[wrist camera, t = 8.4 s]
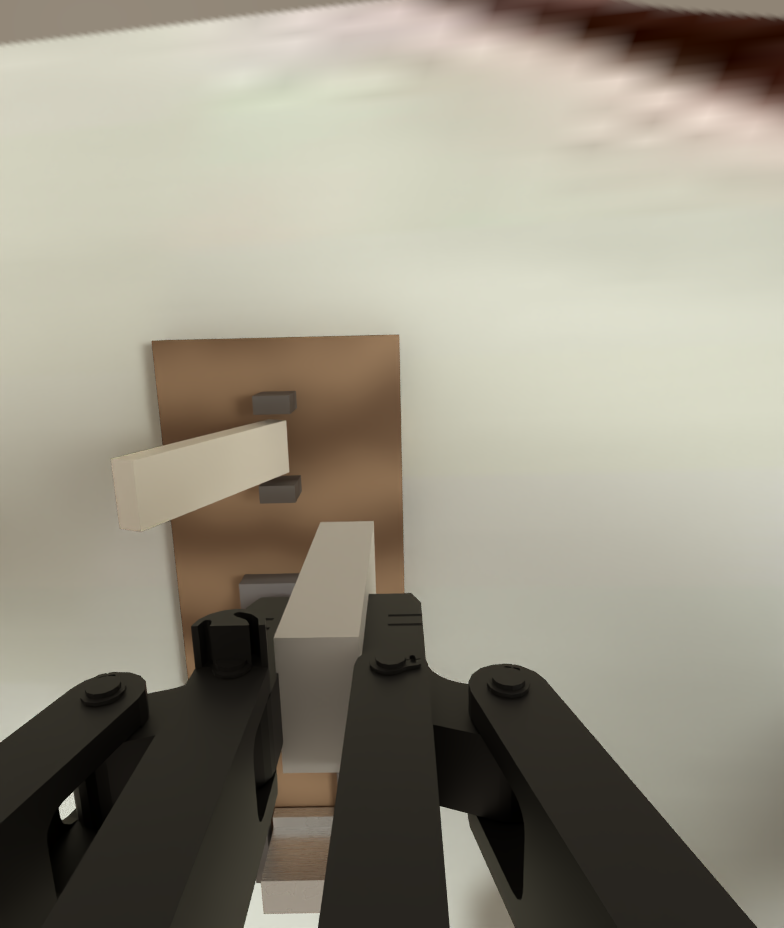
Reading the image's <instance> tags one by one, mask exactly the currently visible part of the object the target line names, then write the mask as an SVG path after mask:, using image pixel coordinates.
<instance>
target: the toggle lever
mask: <svg viewBox="0 0 784 928" xmlns="http://www.w3.org/2000/svg"><path fill="white" fill-rule="evenodd" d="M111 464H112V472H113V480H114V488H115V496H116V503H117V511H118V519H119V527H120V529H125V530H132V531H139V532H142V531H145V530H147V529H150V528H152V527H155V526H157V525H160V524H162V523H165V522H167V521H169V520H172V519H174V518H177V517H179V516H182V515H184V514H187V513H189V512H192V511H194V510H197V509H199V508H202V507H204V506H207V505H209V504H212V503H214V502H217V501H219V500H222V499H224V498H227V497H229V496H232V495H234V494H237V493H239V492H241V491H244V490H246V489H249V488H251V487H254V486H256V485H259V484H261V483H264V482H266V481H269V480H271V479H274V478H276V477H279V476H281V475H284V474H286V473H289V458H288V442H287V426H286V420H270V419H268V420H264V421H260V422H256V423H252V424H248V425H244V426H240V427H236V428H232V429H228V430H224V431H220V432H216V433H212V434H208V435H204V436H200V437H196V438H192V439H188V440H184V441H180V442H176V443H172V444H168V445H164V446H160V447H155V448H151V449H147V450H143V451H139V452H135V453H131V454H127V455H123V456H119V457H115V458H111Z"/></svg>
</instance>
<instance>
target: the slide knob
mask: <svg viewBox="0 0 784 928" xmlns="http://www.w3.org/2000/svg"><path fill="white" fill-rule="evenodd" d="M333 815H334V807H314V808H275V811H274V815H273V826H274V828H273V833H272V837H271V841H270V845H269V849H268V854H267V858H266V862H265V866H264V871H263V875H262V879H261V888H262V899H263V911H264V914H285V913H320V909H321V902H322V895H323V887H324V880H325V873H326V866H327V858H328V851H329V844H330V836H331V829H332V822H333Z"/></svg>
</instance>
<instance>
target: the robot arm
mask: <svg viewBox="0 0 784 928" xmlns="http://www.w3.org/2000/svg"><path fill="white" fill-rule="evenodd" d="M191 633H192V642H193V652H194V662H195V670H194V671H193V673H192V675H191V676H190V678H189V680H188V681H187V683H186V685H184V686H181V687H177V688H174V689H169V690H164V691H159V692H154V693H149V694H147V689H146V681H145V680H144V679H143V678H142V677H141V676H140V675H136V674H133V673H130V672H111V673H109V674H107V673H105V674H101V675H98V676H96V677H94V678H91V679H89V680H86V681H84V682H82V683H80V684H79V685H77V686H75V687H73V688H72V689H70V690H69V691H68V692H66V693H65V694H64V695H62V696H61V697H60V698H58V699H57V700H56V701H55V702H53V703H52V704H51V705H49V706H48V707H47V708H45V709H44V710H43V711H41V712H40V713H39V714H37V715H36V716H35V717H33V718H32V719H31V720H29V721H28V722H27V723H26V724H24V725H23V726H22V727H20V728H19V729H18V730H16V731H15V732H14V733H12V734H11V735H10V736H8V737H7V738H6V739H4V740H3V741H2V742H1V743H0V928H244V924H245V920H246V916H247V912H248V908H249V904H250V900H251V896H252V893H253V889H254V885H255V881H256V877H257V873H258V869H259V865H260V861H261V857H262V854H263V850H264V846H265V842H266V838H267V834H268V830H269V826H270V822H271V818H272V814H273V811H274V807H275V803H276V799H277V795H278V781H277V768H276V767H277V764H278V760H279V757H280V753H281V751H282V765H283V773H333V772H339V778H338V785H337V793H336V800H335V807H334V815H333V822H332V829H331V836H330V844H329V851H328V858H327V866H326V873H325V880H324V887H323V895H322V902H321V909H320V917H319V924H318V928H450V926H449V914H448V902H447V890H446V878H445V866H444V854H443V842H442V830H441V818H440V806H442V807H446V808H450V809H454V810H457V811H461V812H465V813H468V819H469V824H470V828H471V830H472V832H473V835H474V837H475V839H476V841H477V844H478V846H479V848H480V850H481V853H482V855H483V857H484V859H485V861H486V864H487V866H488V868H489V870H490V873H491V875H492V877H493V879H494V882H495V884H496V886H497V888H498V890H499V893H500V895H501V897H502V899H503V902H504V904H505V906H506V908H507V910H508V913H509V915H510V917H511V919H512V922H513V924H514V926H515V928H757V927H756V926H755V924H754V923H753V922H752V921H751V920H750V919H749V917H748V916H747V915H746V914H745V913H744V912H743V910H742V909H741V908H740V907H739V906H738V905H737V903H736V902H735V901H734V900H733V899H732V898H731V896H730V895H729V894H728V893H727V892H726V891H725V889H724V888H723V887H722V886H721V885H720V884H719V882H718V881H717V880H716V879H715V878H714V877H713V875H712V874H711V873H710V872H709V871H708V870H707V868H706V867H705V866H704V865H703V864H702V862H701V861H700V860H699V859H698V858H697V857H696V855H695V854H694V853H693V852H692V851H691V850H690V848H689V847H688V846H687V845H686V844H685V843H684V841H683V840H682V839H681V838H680V837H679V836H678V834H677V833H676V832H675V831H674V830H673V829H672V827H671V826H670V825H669V824H668V823H667V822H666V820H665V819H664V818H663V817H662V816H661V815H660V813H659V812H658V811H657V810H656V809H655V808H654V806H653V805H652V804H651V803H650V802H649V801H648V799H647V798H646V797H645V796H644V795H643V794H642V792H641V791H640V790H639V789H638V788H637V787H636V785H635V784H634V783H633V782H632V781H631V780H630V778H629V777H628V776H627V775H626V774H625V773H624V771H623V770H622V769H621V768H620V767H619V766H618V764H617V763H616V762H615V761H614V760H613V759H612V757H611V756H610V755H609V754H608V753H607V751H606V750H605V749H604V748H603V747H602V746H601V744H600V743H599V742H598V741H597V740H596V739H595V737H594V736H593V735H592V734H591V733H590V732H589V730H588V729H587V728H586V727H585V726H584V725H583V723H582V722H581V721H580V720H579V719H578V718H577V716H576V715H575V714H574V713H573V712H572V711H571V709H570V708H569V707H568V706H567V705H566V704H565V702H564V701H563V700H562V699H561V698H560V697H559V695H558V694H557V693H556V692H555V691H554V690H553V688H552V687H551V686H550V685H549V684H548V683H547V681H546V680H545V679H544V678H542V677H541V676H540V675H539V674H537V673H536V672H534V671H532V670H529V669H527V668H524V667H522V666H518V665H512V664H498V665H490V666H487V667H483V668H480V669H479V670H478V671H476V672H475V673H473V674H472V676H471V678H470V680H469V684H464V683H458V682H455V681H451V680H447V679H445V678H443V677H441V676H439V675H437V674H436V673H434V672H433V671H432V670H431V669H430V668H429V667H428V664H427V661H426V659H425V647H424V635H423V623H422V611H421V602H420V601H419V600H418V599H417V598H416V597H414V596H413V595H412V594H411V593H393V594H376V578H375V545H374V521H354V522H320V524H319V527H318V529H317V532H316V534H315V537H314V539H313V542H312V544H311V547H310V549H309V552H308V554H307V557H306V559H305V561H304V564H303V566H302V569H301V571H300V574H299V576H298V579H297V581H296V584H295V586H294V589H293V591H292V594H291V596H290V597H261V598H259V599H258V600H257V601H255V602H254V603H252V604H251V605H249V606H248V607H247V608H246V609H231V610H223V611H219V612H215V613H211V614H209V615H207V616H204V617H202V618H200V619H198V620H197V621H196V622H195V623H194V624H193V625H192V626H191ZM72 792H74V798H75V804H76V809H75V810H74V811H73V812H72V813H71V814H70V815H69V816H68V817H66V818H65V819H64V820H61V818H60V814H59V806H60V805H61V804H62V802H63V801H64V800H65V799H66V798H67V797H68V796H69V795H70V794H71V793H72Z"/></svg>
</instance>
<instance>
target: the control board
mask: <svg viewBox="0 0 784 928" xmlns="http://www.w3.org/2000/svg"><path fill="white" fill-rule="evenodd" d="M152 350H153V359H154V368H155V377H156V387H157V396H158V405H159V414H160V424H161V433H162V442H163V446H164V445H168V444H172V443H176V442H180V441H184V440H188V439H192V438H196V437H200V436H204V435H208V434H212V433H216V432H220V431H224V430H228V429H232V428H236V427H240V426H244V425H248V424H252V423H256V422H260V421H264V420H268V419H270V420H286V426H287V442H288V458H289V473H286V474H284V475H281V476H279V477H276V478H274V479H271V480H269V481H266V482H264V483H261V484H259V485H256V486H254V487H251V488H249V489H246V490H244V491H241V492H239V493H237V494H234V495H232V496H229V497H227V498H224V499H222V500H219V501H217V502H214V503H212V504H209V505H207V506H204V507H202V508H199V509H197V510H194V511H192V512H189V513H187V514H184V515H182V516H179V517H177V518H174V519H172V520H171V526H172V535H173V544H174V553H175V563H176V572H177V581H178V590H179V600H180V609H181V618H182V627H183V637H184V646H185V655H186V664H187V674H188V680H189V678H190V676H191V675H192V673H193V671H194V670H195V662H194V652H193V642H192V633H191V626H192V625H193V624H194V623H195V622H196V621H197V620H198V619H200V618H202V617H204V616H207V615H209V614H211V613H215V612H219V611H223V610H231V609H246V608H247V607H248V606H249V605H251V604H252V603H254V602H255V601H257V600H258V599H259V598H261V597H290V596H291V594H292V591H293V589H294V586H295V584H296V581H297V579H298V576H299V574H300V571H301V569H302V566H303V564H304V561H305V559H306V557H307V554H308V552H309V549H310V547H311V544H312V542H313V539H314V537H315V534H316V532H317V529H318V527H319V524H320V522H354V521H374V545H375V578H376V594H393V593H404V553H403V502H402V452H401V402H400V352H399V335H366V336H324V337H281V338H239V339H196V340H160V341H152ZM276 768H277V781H278V795H277V799H276V803H275V807H274V811H275V808H314V807H335V800H336V793H337V785H338V778H339V772H333V773H283V765H282V751H281V753H280V757H279V760H278V764H277V767H276ZM274 811H273V814H272V818H271V822H270V826H269V830H268V834H267V838H266V842H265V846H264V850H263V854H262V857H261V861H260V865H259V869H258V873H257V877H256V883H261V879H262V875H263V871H264V866H265V862H266V858H267V854H268V849H269V845H270V841H271V837H272V833H273V828H274V826H273V815H274Z"/></svg>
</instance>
